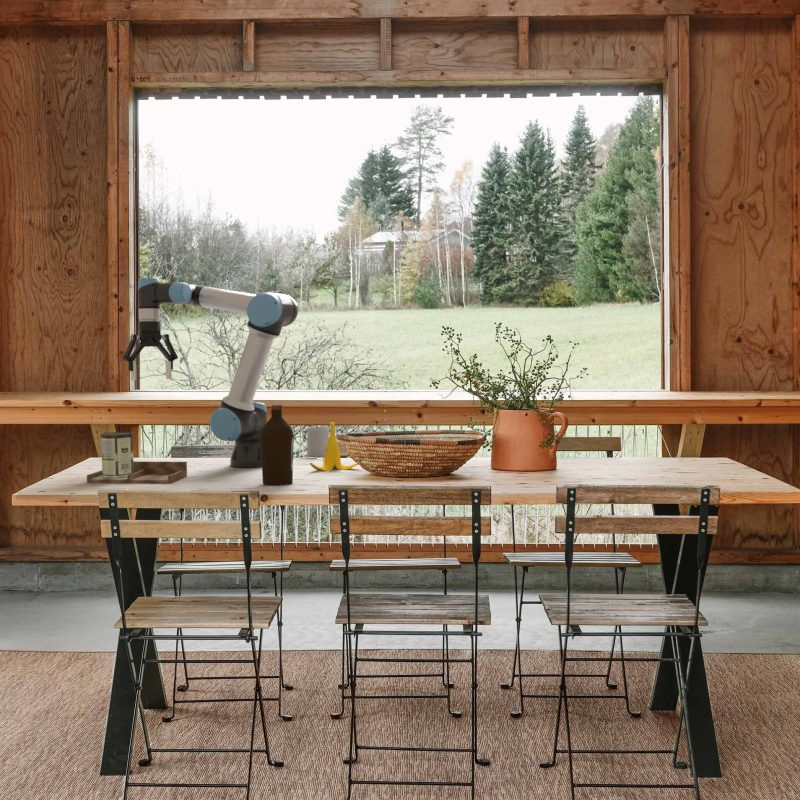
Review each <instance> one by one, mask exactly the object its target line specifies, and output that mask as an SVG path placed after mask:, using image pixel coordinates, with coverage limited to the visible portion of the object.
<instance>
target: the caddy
mask: <svg viewBox="0 0 800 800" xmlns="http://www.w3.org/2000/svg"><path fill="white" fill-rule="evenodd" d="M133 465H134V473H133V474H130V475H127V477H122V478H106V477H102V469H101V470H98V471H94V472H91V473H90V474H87V475H86V483H87V484H174V483H175V482H177V481H180V480H182V479H184V478H187V477H188V461H139V460H138V461H134V460H133Z"/></svg>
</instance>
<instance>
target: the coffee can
mask: <svg viewBox="0 0 800 800" xmlns="http://www.w3.org/2000/svg"><path fill="white" fill-rule="evenodd" d="M133 436H134V432H130V431H117V432H116V431H115V432H103V433H101V434H100V442H101V443H100V445H101V447H100V449H101V470H102V477H106V478H122V477H127V475H130V474H133V473H134V465H133V461H134V440H133V439H134V438H133Z"/></svg>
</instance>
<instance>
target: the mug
mask: <svg viewBox="0 0 800 800" xmlns="http://www.w3.org/2000/svg"><path fill="white" fill-rule="evenodd" d="M329 430H330V427H325V426H324V427H323V426H319V427H308V428H306V433H307V434H306V436H307V438H306V439H307V441H306V442H307V455H306V456H307V457H308V458H323V457H325V452H326V446H327V442H328V439H329V436H330V431H329Z"/></svg>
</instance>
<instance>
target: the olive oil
mask: <svg viewBox="0 0 800 800" xmlns="http://www.w3.org/2000/svg"><path fill="white" fill-rule="evenodd" d="M282 408H283V407H282V404H272V405H271V410H270V414H271V417H270V418H269V419H268V420H267V423H266V424H265V425H264V426H263V428H262V430H261V433H260V443H261V458H262V467H261V474H262V485H264V486H269V487H271V486H272V487H277V486H279V487H281V486H288V485H292V484H293V483H294V482H293V481H294V480H293V479H294V478H293V476H294V474H293V473H294V444H295V443H294V440H295V437H294V436H295V434H294V430H293V428H292V426H291V425H290V424H289V423H288V422H287V421H286V420H285V419H284V418H283V410H282Z"/></svg>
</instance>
